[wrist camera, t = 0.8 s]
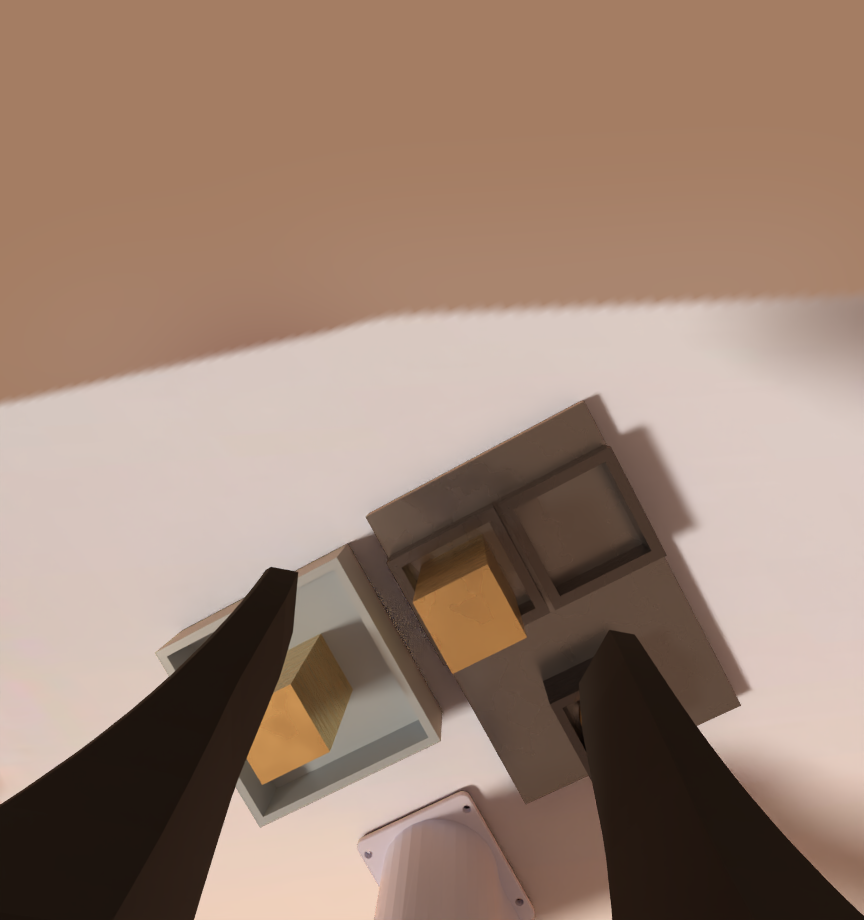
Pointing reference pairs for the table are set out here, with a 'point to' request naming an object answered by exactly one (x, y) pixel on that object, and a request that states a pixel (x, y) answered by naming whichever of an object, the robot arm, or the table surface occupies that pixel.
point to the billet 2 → (468, 604)
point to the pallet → (555, 588)
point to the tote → (367, 670)
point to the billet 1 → (301, 711)
